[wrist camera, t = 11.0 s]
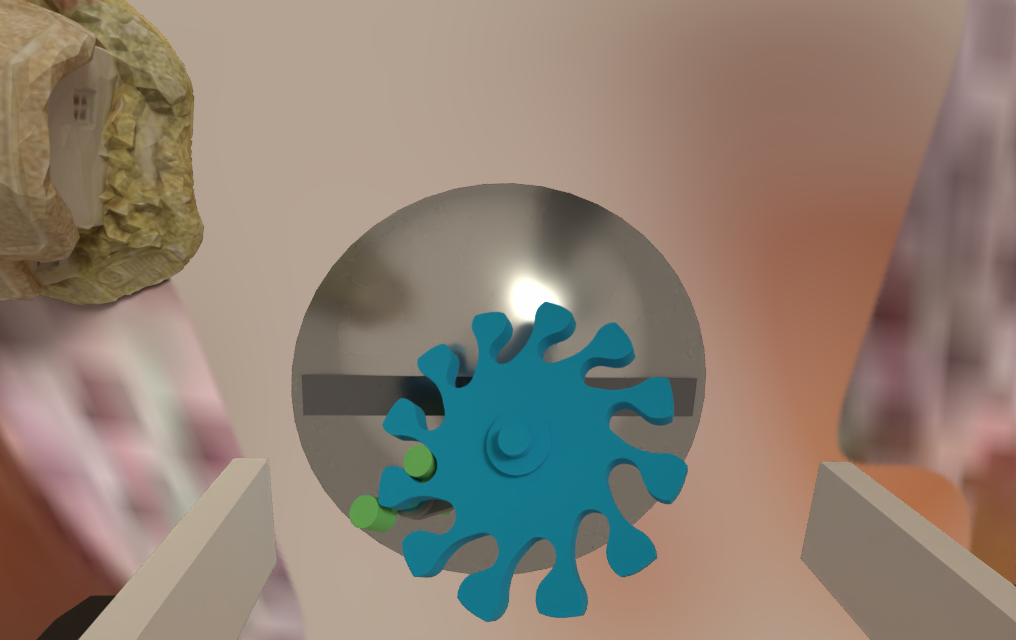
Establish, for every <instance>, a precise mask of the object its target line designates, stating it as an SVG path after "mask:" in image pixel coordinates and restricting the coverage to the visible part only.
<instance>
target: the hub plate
mask: <svg viewBox="0 0 1016 640" xmlns="http://www.w3.org/2000/svg"><path fill="white" fill-rule="evenodd" d="M545 301H547V302H551V303H554V304H557V305H560V306H562V307H564V308H566V309H568V310H569V311H570V312H571V313H572V315H573V317H574V319H575V322H576V329H575V331H574V333H573V334H572V336H571V337H570V338H568V339H567V340H565V341H562V342H560V343H557V344H554V345H552V346H550V347H549V348H547V350H546V351H545V353H544V355H543V361H545V362H548V363H554V362H558V361H560V360H563V359H566V358H568V357H571V356H573V355H575V354H577V353H578V352H580V351H581V350H583V349H584V348H585V347H586V346H587V345H588V344H589V343H590V342H591V341H592V340H593V338H594V337H595V335H596V333H597V332H598V330H599V329H600V328H601V327H602V326H604V325H606V324H608V323H612V322H616V323H617V324H618V325H619V326H620V327H621V328H622V329H623V330H624V332H625V333H626V334H627V335H628V337H629V339H630V340H631V342H632V345H633V349H634V353H635V359H634V360H633V362H631V363H630V364H629V365H627V366H625V367H623V368H611V367H604V366H597V367H594V368H592V369H590V370H589V371H588V372H587V374H586V376H585V379H584V383H585V384H586V385H588V386H590V387H594V388H600V389H607V390H621V389H626V388H630V387H633V386H636V385H638V384H640V383H642V382H644V381H645V380H647V379H649V378H652V377H663V378H666V379H669V381H670V385H671V389H672V394H673V401H674V418H673V422H672V423H670V424H667V425H663V426H658V425H653V424H651V423H649V422H647V421H646V420H644V419H643V418H642V417H641V416H640V415H638V414H637V413H636V412H634V411H632V410H628V409H624V410H620V411H617V412H616V413H615V414H614V415H613V416H612V418H611V419H610V429H611V430H612V431H613V432H614V433H615V434H616V435H617V436H619V437H620V438H621V439H622V440H624V441H625V442H626V443H628V444H629V445H631V446H633V447H635V448H637V449H640V450H643V451H646V452H652V453H669V454H674V455H676V456H678V457H679V458H681V459H682V460H683V461H684V460H685V458H686V456H687V454H688V452H689V450H690V448H691V446H692V443H693V440H694V437H695V433H696V431H697V428H698V425H699V422H700V417H701V412H702V407H703V401H704V395H705V394H704V393H705V378H706V368H705V354H704V346H703V341H702V336H701V332H700V327H699V322H698V320H697V317H696V314H695V311H694V309H693V307H692V303H691V300H690V298H689V296H688V294H687V292H686V291H685V289H684V287H683V285H682V283H681V281H680V279H679V277H678V276H677V274H676V273H675V271H674V270H673V269H672V267H671V266H670V265H669V263H668V262H667V261H666V259H665V258H664V256H663V255H662V254H661V253H660V252H659V251H658V250H657V249H656V248H655V247H654V246H653V245H652V244H651V243H650V241H648V239H647V238H646V237H645V236H644V235H643V234H641V233H640V232H639V231H637V230H636V229H635V228H633V227H632V226H631V225H629V224H628V223H627V222H626V221H624V220H623V219H622V218H620V217H618V216H617V215H615V214H613V213H612V212H610V211H608V210H606V209H605V208H603V207H601V206H599V205H598V204H595V203H593V202H590V201H588V200H585V199H583V198H580V197H578V196H575V195H573V194H570V193H566V192H562V191H558V190H554V189H550V188H546V187H542V186H533V185H524V184H514V183H510V184H509V183H508V184H482V185H476V186H470V187H463V188H457V189H453V190H449V191H446V192H443V193H439V194H437V195H433V196H430V197H427V198H424V199H422V200H420V201H417V202H416V203H413V204H411V205H409V206H407V207H404V208H402V209H400V210H398V211H397V212H395V213H393V214H392V215H391V216H389V217H387V218H386V219H384V220H383V221H381V222H379V223H378V224H376V225H375V226H374V227H372V228H371V229H370V230H369V231H367V232H366V233H365V234H364V235H363V236H362V237H360V238H359V239H358V240H357V241H356V242H355V243H353V244H352V245H351V246H350V247H349V248H348V250H347V251H346V252H345V253H344V254H343V255H342V256H341V257H340V259H339V260H338V261H337V262H336V263H335V264H334V265H333V266H332V268H331V270H330V271H329V272H328V274H327V275H326V277H325V278H324V280H323V281H322V283H321V284H320V286H319V287H318V289H317V290H316V292H315V295H314V297H313V299H312V301H311V303H310V305H309V307H308V309H307V312H306V313H305V316H304V319H303V322H302V325H301V329H300V332H299V335H298V338H297V341H296V347H295V353H294V360H293V365H292V402H293V410H294V418H295V423H296V427H297V431H298V434H299V437H300V441H301V445H302V448H303V450H304V452H305V455H306V457H307V459H308V462H309V464H310V466H311V468H312V470H313V472H314V474H315V475H316V477H317V479H318V480H319V482H320V484H321V485H322V487H323V488H324V490H325V492H326V493H327V494H328V495H329V497H330V498H331V499H332V500H333V502H334V503H335V504H336V505H337V506H338V508H339V509H340V510H341V511H342V512H343V513H344V514H345V515H346V516H347V517H348V518H349V519H350V515H349V513H350V508H351V505H352V504H353V502H354V501H355V500H356V499H357V498H358V497H360V496H362V495H371V496H374V497H377V498H378V493H379V483H380V478H381V475H382V472H383V470H384V469H385V468H386V467H389V466H399V467H401V468H404V466H403V461H404V457H405V455H406V453H407V451H408V450H409V449H410V448H412V447H414V446H417V445H423V446H425V445H424V444H423V443H421V442H417V441H403V440H400V439H398V438H396V437H394V436H393V435H391V434H389V433H387V432H386V431H385V430H384V428H383V426H382V424H383V422H384V420H385V418H386V416H387V414H388V413H389V411H390V409H391V408H392V407H393V405H394V404H395V403H396V402H397V401H398V400H399V399H400V398H405V399H408V400H409V401H411V402H413V403H414V404H415V405H417V406H418V407H420V408H421V409H422V410H423V411H424V413H425V416H426V422H427V427H428V430H434V429H436V428H438V427H439V426H440V425H441V424H442V422H443V420H444V417H445V409H444V404H443V399H442V396H441V393H440V391H439V389H438V387H437V386H436V384H435V383H434V382H432V381H431V380H430V379H429V378H427V377H426V376H425V375H424V374H422V373H421V372H420V370H419V368H418V365H417V360H418V358H419V357H420V356H422V355H423V354H424V353H425V352H427V351H428V350H430V349H431V348H433V347H435V346H437V345H440V344H443V343H444V344H445V345H447V346H448V347H449V348H450V349H451V350H452V351H453V352H454V353H455V354H456V355H457V357H458V359H459V362H460V367H459V371H458V374H457V377H456V381H455V387H456V388H462V387H465V386H466V385H468V384H469V383H470V382H471V380H472V378H473V376H474V373H475V370H476V366H477V362H478V353H479V350H478V343H477V340H476V337H475V335H474V333H473V331H472V321H473V318H474V317H475V315H478V314H482V313H488V312H502V313H505V315H506V316H507V318H508V319H509V321H510V322H511V324H512V327H513V334H512V337H511V339H510V341H509V342H508V343H507V344H506V345H505V346H504V347H503V348H502V349H501V350H500V352H499V353H498V355H497V363H499V364H504V363H508V362H510V361H511V360H512V359H513V358H514V357H515V356H516V355H517V354H518V353H519V352H520V351H521V350H522V349H523V347H524V346H525V345H526V344H527V342H528V340H529V338H530V336H531V334H532V331H533V327H534V321H535V313H536V310H537V308H538V307H539V306H540V305H541V304H542V303H543V302H545ZM425 447H426V446H425ZM609 486H610V489H611V492H612V495H613V498H614V501H615V503H616V506H617V508H618V509H619V511H620V513H621V514H622V516H623V517H624V518H625V519H626V520H627V521H628V522H629V523H630V524H631V525H633V524H634V523H636V522H637V521H638V520H639V519H640V518H641V517H642V516H643V515H644V514H645V513H646V512H647V511H648V510H649V509H650V508H651V507H652V506H653V505H654V504H655V503H656V502H657V500H655V499H654V498H653V497H652V496H651V495H650V494H649V492H648V490H647V488H646V486H645V484H644V481H643V478H642V476H641V473H640V471H639V470H638V469H637V468H636V467H635V466H633V465H630V464H620V465H617V466H616V467H614V468H613V469H612V471H611V472H610V475H609ZM455 518H456V513H455V509H454V510H452V511H451V513H449V514H447V515H443V514H438V515H435V516H432V517H428V518H425V519H422V520H414V519H410V518H406V517H403V516H400V515H399V514H398V513H397V518H396V521H395V524H394V525H393V526H392V528H390V529H389V530H388V531H385V532H377V531H372V530H367V529H361V528H360V529H361V530H363V531H364V532H366V533H367V534H368V535H369V536H371V537H372V538H374V539H375V540H376V541H378V542H379V543H381V544H383V545H384V546H386V547H388V548H390V549H392V550H393V551H395V552H397V553H399V554H401V555H403V556H404V553H403V548H402V541H403V540H404V538H405V537H406V536H407V535H408V534H410V533H411V532H414V531H417V530H422V531H427V532H432V533H436V534H439V535H440V534H444V533H446V532H448V531H449V530H450V529H451V528H452V526H453V525H454V522H455ZM609 532H610V527H609V522H608V520H607V518H606V517H605V515H603V514H600V513H591V514H588V515H586V516H585V517H584V518H583V519H582V521H581V522H580V525H579V529H578V534H577V539H576V546H575V559H576V558H579V557H581V556H583V555H586V554H588V553H590V552H592V551H594V550H596V549H597V548H599V547H601V546H603V545H604V544H606V543H608V538H609ZM498 553H499V548H498V544H497V541H496V540H495V538H494V537H493V536H492V535H488V536H484V537H481V538H478V539H475V540H473V541H470V542H468V543H466V544H465V545H463V546H462V547H460V548H459V549H458V550H457V551H456V552H455V553H454V554H453V555H452V556H451V558H450V559H449V560H448V562H447V563H446V565H445V567H444V568H443V569H444V570H447V571H453V572H460V573H468V574H473V573H476V572H479V571H483V570H486V569H488V568H490V567H491V566H493V564H494V563H495V562H496V560H497V558H498ZM555 562H556V552H555V548H554V546H553V545H552V543H551V542H550V541H549V540H547V539H543V540H539V541H537V542H536V543H535V544H534V545H533V546H532V547H531V548H530V549H529V550H528V551H527V552H526V554H525V555H524V556H523V557H522V559H521V560H520V561H519V563H518V565H517V567H516V569H515V571H514V574H519V573H526V572H532V571H537V570H542V569H547V568H550V567H553V566H554V565H555Z"/></svg>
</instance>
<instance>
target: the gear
mask: <svg viewBox="0 0 1016 640" xmlns="http://www.w3.org/2000/svg"><path fill="white" fill-rule="evenodd" d="M575 329H576V322H575V319H574V317H573V315H572V313H571V312H570V311H569V310H568V309H566V308H564V307H562V306H560V305H557V304H554V303H551V302H547V301H545V302H543V303H542V304H541V305H540V306H539V307H538V308H537V310H536V313H535V321H534V327H533V331H532V334H531V336H530V338H529V340H528V342H527V344H526V345H525V346H524V347H523V349H522V350H521V351H520V352H519V353H518V354H517V355H516V356H515V357H514V358H513V359H512V360H511V361H510V362H508V363H504V364H499V363H497V355H498V353H499V352H500V350H501V349H502V348H503V347H504V346H505V345H506V344H507V343H508V342H509V341H510V339H511V337H512V334H513V327H512V324H511V322H510V321H509V319H508V318H507V316H506V315H505V313H502V312H488V313H482V314H478V315H475V317H474V318H473V321H472V331H473V333H474V335H475V337H476V340H477V343H478V350H479V353H478V362H477V366H476V370H475V373H474V376H473V378H472V380H471V382H470V383H469V384H468V385H466V386H465V387H462V388H456V387H455V381H456V377H457V374H458V371H459V367H460V362H459V359H458V357H457V355H456V354H455V353H454V352H453V351H452V350H451V349H450V348H449V347H448V346H447V345H445V344H444V343H443V344H440V345H437V346H435V347H433V348H431V349H430V350H428V351H427V352H425V353H424V354H423V355H422V356H420V357H419V358H418V360H417V365H418V368H419V370H420V372H421V373H422V374H424V375H425V376H426V377H427V378H429V379H430V380H431V381H432V382H434V383H435V384H436V386H437V387H438V389H439V391H440V393H441V396H442V399H443V404H444V409H445V417H444V420H443V422H442V424H441V425H440V426H439V427H438V428H436V429H434V430H428V427H427V422H426V416H425V413H424V411H423V410H422V409H421V408H420V407H418V406H417V405H415V404H414V403H413V402H411V401H409V400H408V399H405V398H400V399H399V400H398V401H397V402H396V403H395V404H394V405H393V407H392V408H391V409H390V411H389V413H388V414H387V416H386V418H385V420H384V422H383V424H382V426H383V428H384V430H385V431H386V432H387V433H389V434H391V435H393V436H394V437H396V438H398V439H400V440H403V441H417V442H421V443H423V444H424V445H425V446H426V447H425V446H423V445H417V446H414V447H412V448H410V449H409V450H408V451H407V453H406V455H405V457H404V461H403V466H404V468H401V467H399V466H389V467H386V468H385V469H384V470H383V472H382V475H381V478H380V483H379V493H378V498H377V497H374V496H371V495H362V496H360V497H358V498H357V499H356V500H355V501H354V502H353V504H352V505H351V508H350V513H349V515H350V520H351V522H352V524H353V525H354V526H355V527H357V528H361V529H367V530H372V531H377V532H385V531H388V530H389V529H390V528H392V526H393V525H394V524H395V521H396V518H397V513H398V514H399V515H400V516H403V517H406V518H410V519H414V520H422V519H425V518H428V517H432V516H435V515H438V514H443V515H447V514H449V513H451V511H452V510H454V509H455V513H456V518H455V522H454V525H453V526H452V528H451V529H450V530H449V531H448V532H446V533H444V534H440V535H439V534H436V533H432V532H427V531H422V530H417V531H414V532H411V533H410V534H408V535H407V536H406V537H405V538H404V540H403V541H402V548H403V553H404V557H405V560H406V562H407V565H408V567H409V569H410V570H411V573H412V574H413V576H414V577H433V576H436V575H437V574H438V573H440V572H441V570H443V568H444V567H445V565H446V563H447V562H448V560H449V559H450V558H451V556H452V555H453V554H454V553H455V552H456V551H457V550H458V549H459V548H460V547H462V546H463V545H465V544H466V543H468V542H470V541H473V540H475V539H478V538H481V537H484V536H488V535H492V536H493V537H494V538H495V540H496V541H497V544H498V548H499V553H498V558H497V560H496V562H495V563H494V564H493V566H491V567H490V568H488V569H486V570H483V571H479V572H476V573H473V574H471V575H469V576H468V577H466V579H464V581H463V582H462V584H461V585H460V588H459V590H458V596H457V597H458V599H459V601H460V602H461V603H462V605H463V606H464V607H465V608H466V609H467V610H469V611H470V612H471V613H473V614H474V615H475V616H477V617H479V618H481V619H482V620H484V621H486V622H490V621H496V620H497V619H499V618H500V617H501V616H502V615H503V614H504V613H505V611H506V609H507V606H508V602H509V588H510V584H511V579H512V576H513V574H514V571H515V569H516V567H517V565H518V563H519V561H520V560H521V559H522V557H523V556H524V555H525V554H526V552H527V551H528V550H529V549H530V548H531V547H532V546H533V545H534V544H535V543H536V542H537V541H539V540H543V539H547V540H549V541H550V542H551V543H552V545H553V546H554V548H555V552H556V562H555V565H554V567H553V569H552V570H551V571H550V573H548V575H547V576H546V577H545V578H544V579H543V580H542V582H541V583H540V585H539V587H538V589H537V593H536V605H537V609H538V611H539V613H541V614H543V615H546V616H550V617H557V618H566V617H576V616H582V615H584V614H585V612H586V609H587V604H588V600H587V593H586V590H585V588H584V586H583V584H582V582H581V580H580V577H579V574H578V571H577V566H576V560H575V546H576V539H577V534H578V529H579V525H580V522H581V521H582V519H583V518H584V517H585V516H586V515H588V514H591V513H600V514H603V515H605V517H606V518H607V520H608V522H609V527H610V532H609V538H608V543H607V550H606V554H607V559H608V562H609V565H610V566H611V568H612V569H613V571H614V572H615V573H616V574H618V575H619V576H621V577H626V576H631V575H633V574H635V573H638V572H640V571H641V570H643V569H644V568H645V567H647V566H648V565H649V564H651V563H652V562H653V561H654V560H655V559H656V558H657V554H656V549H655V546H654V545H653V543H652V542H651V540H650V539H649V538H648V537H647V536H646V535H645V534H644V533H643V532H641V531H640V530H638V529H636V528H635V527H633V526H632V525H631V524H630V523H629V522H628V521H627V520H626V519H625V518H624V517H623V516H622V514H621V513H620V511H619V509H618V508H617V506H616V503H615V501H614V498H613V495H612V492H611V489H610V486H609V475H610V472H611V471H612V469H613V468H614V467H616V466H617V465H620V464H630V465H633V466H635V467H636V468H637V469H638V470H639V471H640V473H641V476H642V478H643V481H644V484H645V486H646V488H647V490H648V492H649V494H650V495H651V496H652V497H653V498H654V499H655V500H657V501H659V502H661V503H664V504H671V503H672V502H673V501H674V500H675V499H676V498H677V496H678V495H679V493H680V491H681V489H682V487H683V484H684V481H685V478H686V475H687V472H688V470H687V469H688V468H687V465H686V464H685V462H684V461H683V460H682V459H681V458H679V457H678V456H676V455H674V454H669V453H652V452H646V451H643V450H640V449H637V448H635V447H633V446H631V445H629V444H628V443H626V442H625V441H624V440H622V439H621V438H620V437H619V436H617V435H616V434H615V433H614V432H613V431H612V430H611V429H610V419H611V418H612V416H613V415H614V414H615V413H616V412H617V411H620V410H624V409H628V410H632V411H634V412H636V413H637V414H638V415H640V416H641V417H642V418H643V419H644V420H646V421H647V422H649V423H651V424H653V425H658V426H663V425H667V424H670V423H672V422H673V418H674V401H673V394H672V389H671V385H670V381H669V379H666V378H663V377H652V378H649V379H647V380H645V381H644V382H642V383H640V384H638V385H636V386H633V387H630V388H626V389H621V390H607V389H600V388H594V387H590V386H588V385H586V384H585V383H584V379H585V376H586V374H587V372H588V371H589V370H590V369H592V368H594V367H597V366H604V367H611V368H623V367H625V366H627V365H629V364H630V363H631V362H633V360H634V359H635V353H634V349H633V345H632V342H631V340H630V339H629V337H628V335H627V334H626V333H625V332H624V330H623V329H622V328H621V327H620V326H619V325H618V324H617V323H616V322H612V323H608V324H606V325H604V326H602V327H601V328H600V329H599V330H598V332H597V333H596V335H595V337H594V338H593V340H592V341H591V342H590V343H589V344H588V345H587V346H586V347H585V348H584V349H583V350H581V351H580V352H578V353H577V354H575V355H573V356H571V357H568V358H566V359H563V360H560V361H558V362H554V363H548V362H545V361H543V355H544V353H545V351H546V350H547V348H549V347H550V346H552V345H554V344H557V343H560V342H562V341H565V340H567V339H568V338H570V337H571V336H572V334H573V333H574V331H575Z"/></svg>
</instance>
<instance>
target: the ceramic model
mask: <svg viewBox="0 0 1016 640" xmlns="http://www.w3.org/2000/svg"><path fill="white" fill-rule="evenodd" d="M193 112H194V95H193V87H192V83H191V80H190V78H189V76H188V74H187V72H186V69H185V66H184V63H183V62H182V61H181V60H180V59H179V57H178V56H177V55H176V52H175V50H173V48H172V46H171V45H170V43H169V42H168V41H167V39H166V38H165V37H164V36H163V35H162V34H161V33H160V31H159V30H158V29H157V28H156V27H155V26H154V25H153V24H152V23H150V22H149V21H148V20H147V19H146V18H145V17H144V16H143V15H141V14H140V13H138V11H137V10H136V9H135V8H134V7H132V6H131V5H130V4H129V3H128V2H126V1H125V0H0V301H5V300H13V299H14V300H32V299H34V298H35V297H37V296H38V295H42V296H47V297H51V298H54V299H58V300H62V301H65V302H69V303H73V304H76V305H86V304H96V305H98V304H103V303H109V302H114V301H116V300H117V299H118V298H120V297H123V295H131V294H133V293H134V292H136V291H139V290H140V289H142V288H144V287H146V286H151V285H156V284H158V283H160V282H162V281H163V280H166V279H170V277H172V276H173V275H175V274H177V273H178V272H180V271H181V270H182V269H183V268H184V266H185V265H186V264H187V263H188V262H189V261H190V260H189V259H190V258H192V257H193V256H194V255H195V253H196V251H197V250H198V248H199V246H200V244H201V242H202V239H203V229H204V226H203V224H202V221H201V219H200V216H199V213H198V211H197V206H196V200H195V196H194V189H193V185H194V184H193V183H194V181H193V170H192V164H191V162H192V158H191V145H192V141H191V138H192V135H193Z"/></svg>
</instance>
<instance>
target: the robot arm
mask: <svg viewBox="0 0 1016 640" xmlns="http://www.w3.org/2000/svg"><path fill="white" fill-rule="evenodd" d="M273 521H274V520H273V509H272V495H271V482H270V469H269V458H234V459H233V460H232V461H231V462H230V463H229V465H228V466H227V467H226V468H225V469H224V470H223V472H222V473H221V474H220V475H219V476H218V477H217V479H216V480H215V481H214V482H213V483H212V484H211V486H210V487H209V488H208V489H207V490H206V491H205V493H204V494H203V495H202V496H201V497H200V498H199V500H198V501H197V502H196V503H195V504H194V505H193V507H192V508H191V509H190V510H189V511H188V512H187V514H186V515H185V516H184V517H183V518H182V519H181V521H180V522H179V523H178V524H177V525H176V526H175V528H174V529H173V530H172V531H171V532H170V533H169V535H168V536H167V537H166V538H165V539H164V540H163V542H162V543H161V544H160V545H159V546H158V547H157V549H156V550H155V551H154V552H153V553H152V554H151V556H150V557H149V558H148V559H147V560H146V561H145V563H144V564H143V565H142V566H141V567H140V568H139V570H138V571H137V572H136V573H135V574H134V575H133V577H132V578H131V579H130V580H129V581H128V582H127V584H126V585H125V586H124V587H123V588H122V589H121V591H120V592H119V593H118V594H117V595H116V596H90V597H88V598H87V599H85V600H84V601H82V602H81V603H79V604H78V605H77V606H75V607H74V608H72V609H71V610H69V611H68V612H66V613H65V614H63V615H62V616H60V617H59V618H57V619H56V620H55V621H54V622H53V623H52V624H51V625H50V626H49V627H48V628H47V629H46V630H45V631H44V632H43V633H42V635H41V636H40V637H39V638H38V639H37V640H237V638H238V636H239V634H240V632H241V630H242V628H243V626H244V624H245V623H246V621H247V619H248V617H249V615H250V613H251V611H252V609H253V607H254V605H255V603H256V601H257V599H258V597H259V595H260V593H261V591H262V589H263V588H264V586H265V584H266V582H267V580H268V578H269V576H270V574H271V572H272V570H273V568H274V566H275V564H276V562H277V560H276V547H275V534H274V522H273ZM801 559H802V561H803V562H804V563H805V564H806V565H807V566H808V568H809V569H810V570H811V571H812V572H813V573H814V575H815V576H816V577H817V578H818V579H819V580H820V582H821V583H822V584H823V585H824V586H825V587H826V589H827V590H828V591H829V592H830V593H831V594H832V596H833V597H834V598H835V599H836V600H837V601H838V603H839V604H840V605H841V606H842V607H843V608H844V609H845V611H846V612H847V613H848V614H849V615H850V616H851V618H852V619H853V620H854V621H855V622H856V623H857V625H858V626H859V627H860V628H861V629H862V630H863V632H864V633H865V634H866V635H867V636H868V637H869V639H870V640H1016V585H1014V584H1011V583H1010V582H1009V581H1008V580H1006V579H1005V578H1004V577H1002V576H1001V575H1000V574H998V573H997V572H996V571H994V570H993V569H992V568H990V567H989V566H988V565H986V564H985V563H984V562H982V561H981V560H980V559H978V558H977V557H976V556H974V555H973V554H972V553H970V552H969V551H968V550H966V549H965V548H964V547H962V546H961V545H960V544H958V543H957V542H956V541H954V540H953V539H952V538H951V537H949V536H948V535H947V534H945V533H944V532H943V531H941V530H940V529H938V528H937V527H936V526H935V525H933V524H932V523H931V522H929V521H928V520H927V519H925V518H924V517H923V516H921V515H920V514H919V513H917V512H916V511H915V510H913V509H912V508H911V507H909V506H908V505H907V504H905V503H904V502H903V501H901V500H900V499H899V498H897V497H896V496H895V495H893V494H892V493H891V492H890V491H888V490H887V489H886V488H884V487H883V486H882V485H880V484H879V483H878V482H876V481H875V480H873V479H872V478H871V477H870V476H868V475H867V474H866V473H864V472H863V471H862V470H860V469H859V468H858V467H856V466H855V465H854V464H852V463H851V462H820V465H819V470H818V475H817V480H816V485H815V490H814V494H813V500H812V505H811V509H810V514H809V519H808V524H807V530H806V535H805V539H804V545H803V549H802V554H801Z"/></svg>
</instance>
